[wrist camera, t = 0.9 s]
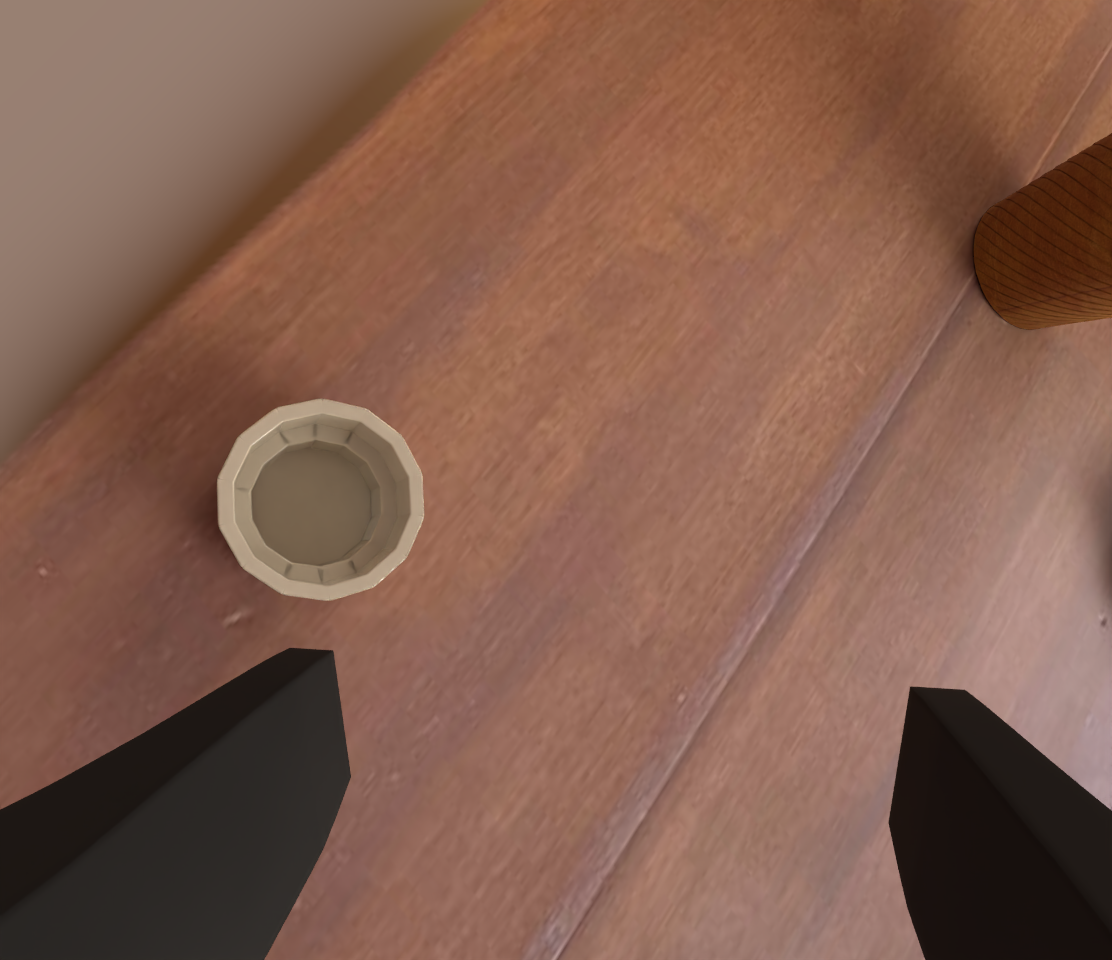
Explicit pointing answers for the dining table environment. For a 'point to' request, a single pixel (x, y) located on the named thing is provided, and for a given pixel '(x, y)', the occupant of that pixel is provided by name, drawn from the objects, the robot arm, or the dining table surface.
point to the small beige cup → (320, 499)
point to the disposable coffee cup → (1052, 245)
